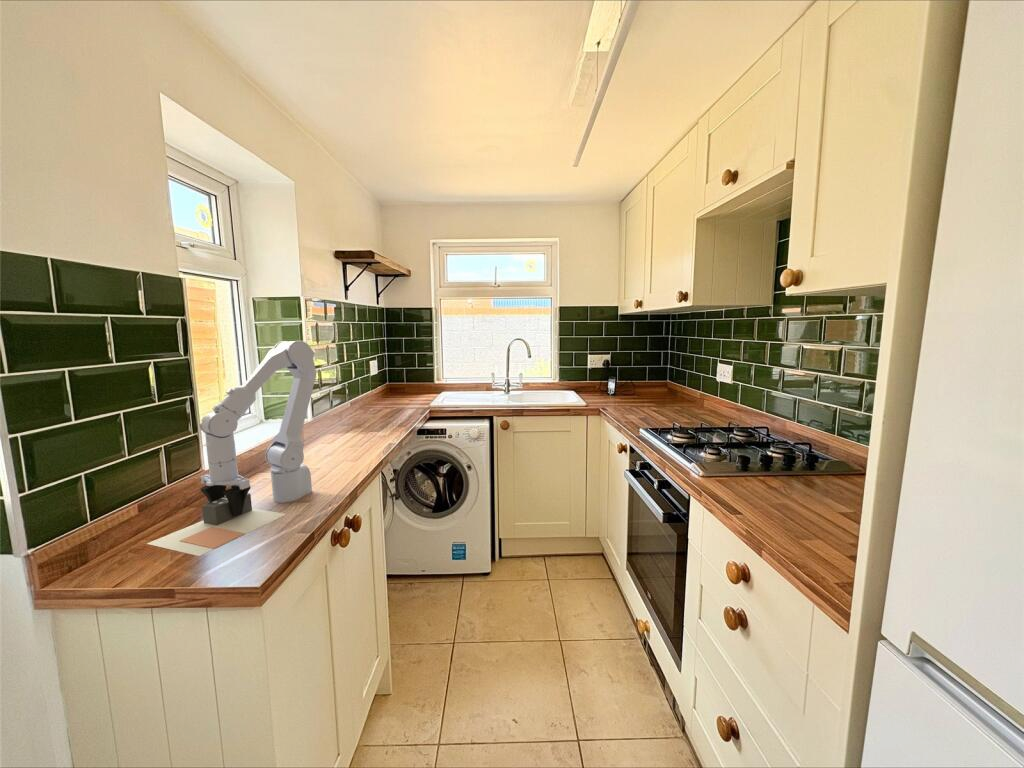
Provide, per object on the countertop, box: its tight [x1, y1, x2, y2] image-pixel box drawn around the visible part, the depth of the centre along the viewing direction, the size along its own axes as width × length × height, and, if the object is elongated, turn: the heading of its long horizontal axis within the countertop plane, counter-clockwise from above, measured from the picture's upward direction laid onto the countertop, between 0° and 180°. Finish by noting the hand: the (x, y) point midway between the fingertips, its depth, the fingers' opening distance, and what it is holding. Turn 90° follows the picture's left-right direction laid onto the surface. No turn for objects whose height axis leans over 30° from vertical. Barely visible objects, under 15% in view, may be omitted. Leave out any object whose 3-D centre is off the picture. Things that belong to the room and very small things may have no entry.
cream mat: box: [146, 507, 287, 557], centre depth 98 cm, size 21×17×1 cm
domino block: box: [201, 492, 253, 525], centre depth 104 cm, size 9×5×5 cm, turn 160°
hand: (228, 513), depth 104 cm, fingers open, 6 cm apart
